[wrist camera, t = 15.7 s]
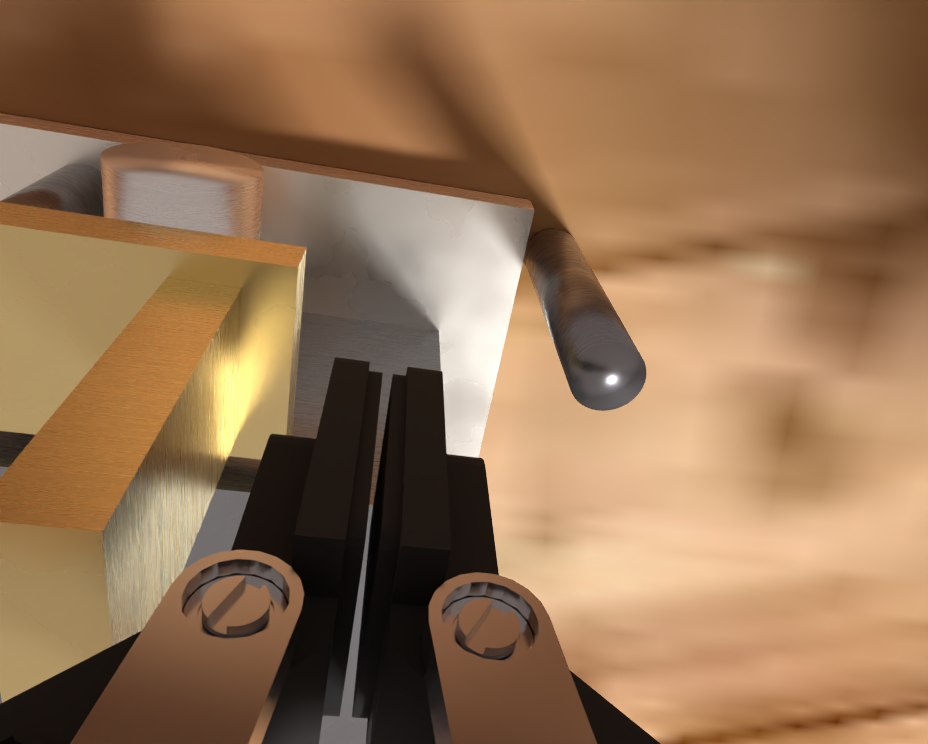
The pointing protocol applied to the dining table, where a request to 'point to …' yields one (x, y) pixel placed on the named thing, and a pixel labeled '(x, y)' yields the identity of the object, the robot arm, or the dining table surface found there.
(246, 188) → the lynch pin
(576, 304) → the hitch block
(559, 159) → the dining table surface
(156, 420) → the plate
